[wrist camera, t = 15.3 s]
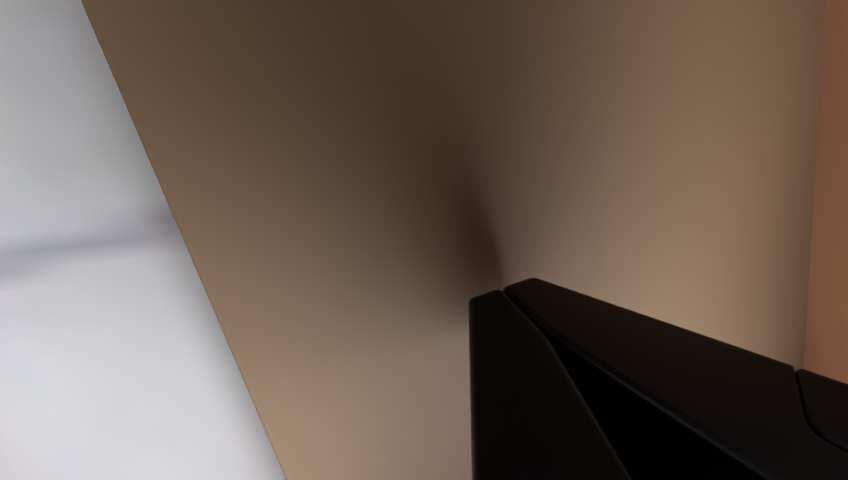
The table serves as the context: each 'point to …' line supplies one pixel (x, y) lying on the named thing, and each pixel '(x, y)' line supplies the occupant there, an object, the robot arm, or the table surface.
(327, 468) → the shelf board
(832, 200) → the light orange box
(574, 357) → the robot arm
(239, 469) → the table surface
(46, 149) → the table surface
